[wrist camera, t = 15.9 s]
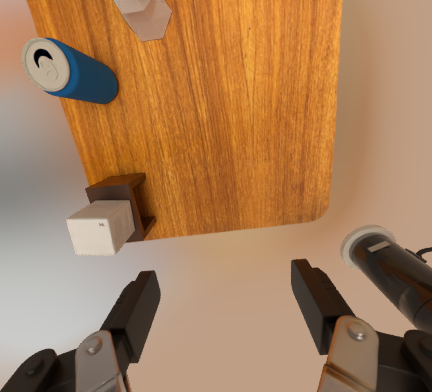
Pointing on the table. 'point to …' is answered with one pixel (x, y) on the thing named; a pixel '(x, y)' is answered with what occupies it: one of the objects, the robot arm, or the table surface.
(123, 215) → the product box
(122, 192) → the shelf
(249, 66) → the table surface
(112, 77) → the beverage can
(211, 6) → the table surface
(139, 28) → the figurine
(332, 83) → the table surface
